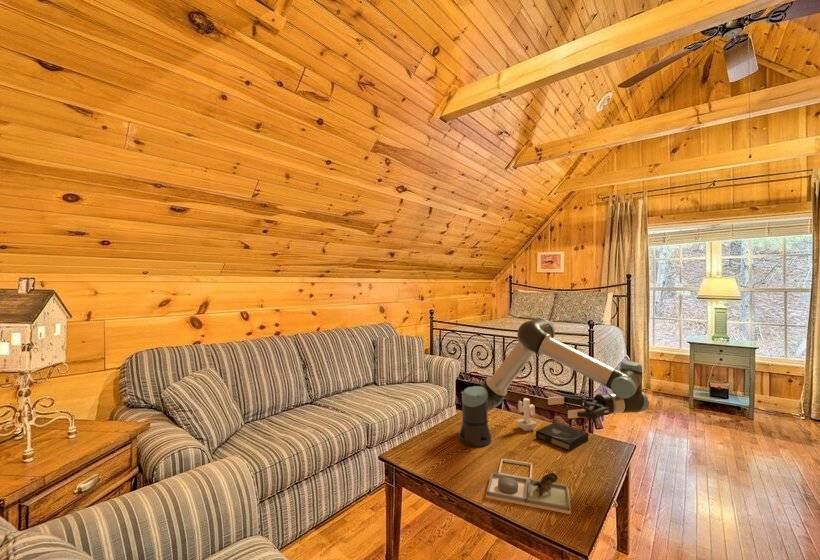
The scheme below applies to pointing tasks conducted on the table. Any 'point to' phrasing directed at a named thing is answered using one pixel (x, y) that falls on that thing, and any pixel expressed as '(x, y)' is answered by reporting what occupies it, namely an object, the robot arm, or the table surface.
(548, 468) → the table surface
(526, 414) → the figurine
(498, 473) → the white square frame
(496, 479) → the tray
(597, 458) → the table surface
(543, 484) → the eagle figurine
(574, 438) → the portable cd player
